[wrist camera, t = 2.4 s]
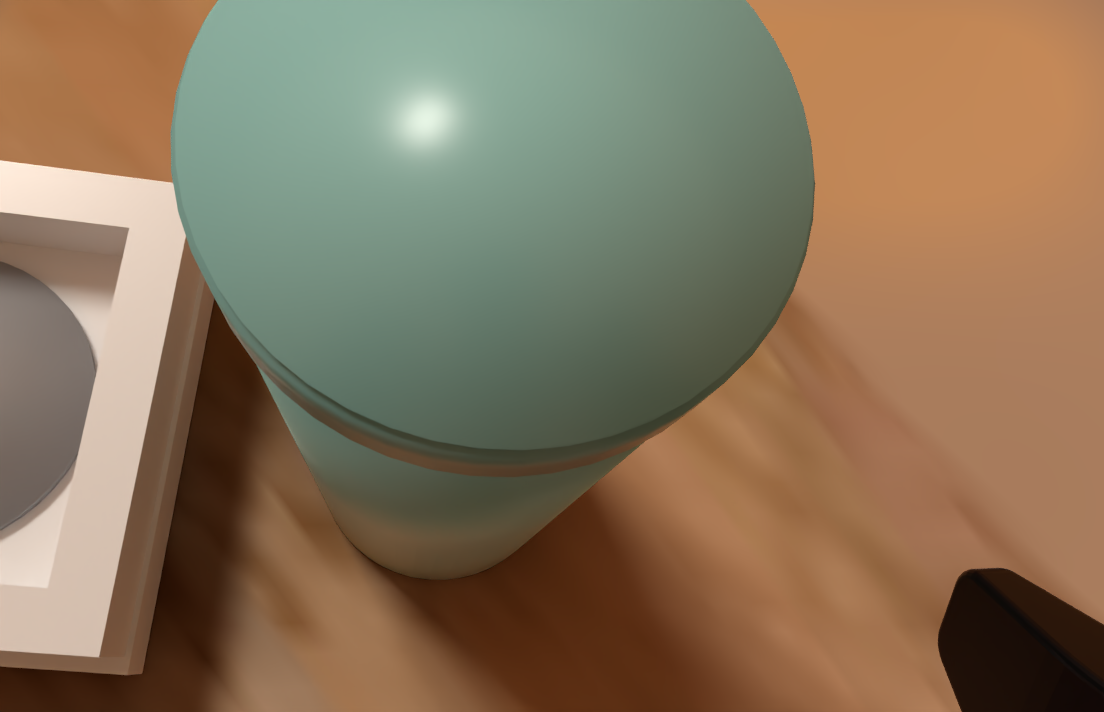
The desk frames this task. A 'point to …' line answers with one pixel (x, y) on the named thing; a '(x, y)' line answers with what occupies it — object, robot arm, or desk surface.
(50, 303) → the housing
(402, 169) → the green banded cylinder
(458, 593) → the desk surface
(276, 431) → the desk surface
